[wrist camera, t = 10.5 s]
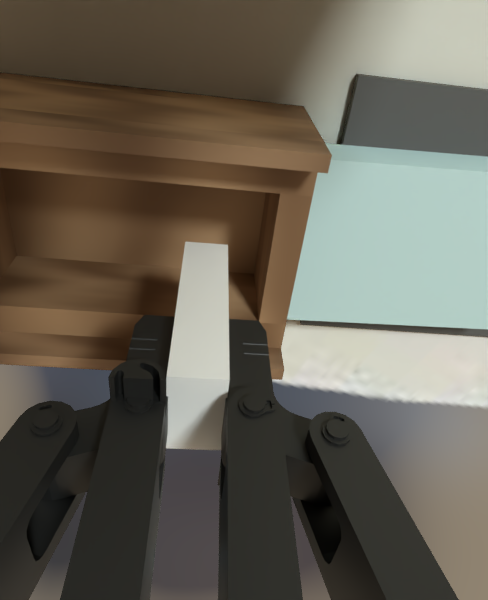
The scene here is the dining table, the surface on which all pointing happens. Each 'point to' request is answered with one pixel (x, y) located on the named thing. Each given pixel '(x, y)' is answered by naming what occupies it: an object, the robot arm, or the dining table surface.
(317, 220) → the lid
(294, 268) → the box
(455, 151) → the mat
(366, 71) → the dining table surface
